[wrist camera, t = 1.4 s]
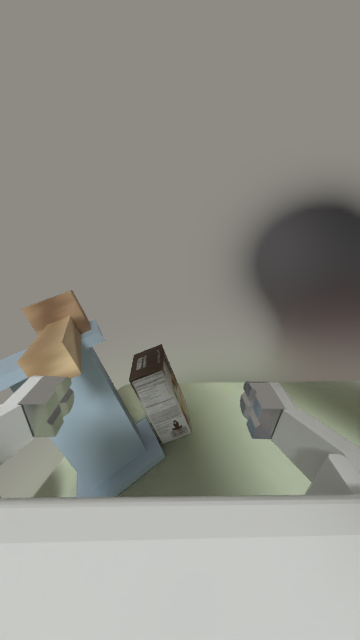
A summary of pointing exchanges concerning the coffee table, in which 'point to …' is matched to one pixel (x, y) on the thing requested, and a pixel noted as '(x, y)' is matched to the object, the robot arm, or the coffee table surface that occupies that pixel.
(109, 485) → the stand
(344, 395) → the coffee table surface
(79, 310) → the tan block
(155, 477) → the coffee table surface
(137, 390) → the coffee box
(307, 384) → the coffee table surface
